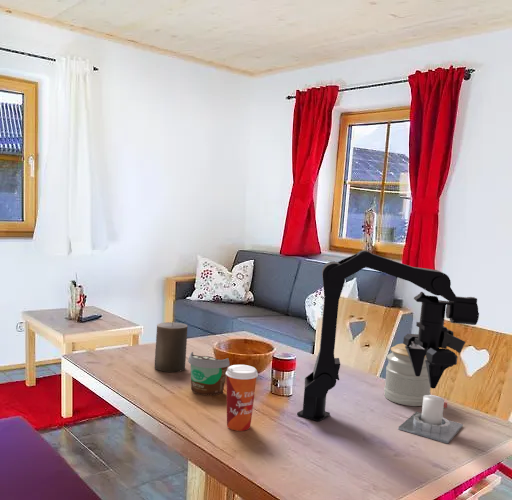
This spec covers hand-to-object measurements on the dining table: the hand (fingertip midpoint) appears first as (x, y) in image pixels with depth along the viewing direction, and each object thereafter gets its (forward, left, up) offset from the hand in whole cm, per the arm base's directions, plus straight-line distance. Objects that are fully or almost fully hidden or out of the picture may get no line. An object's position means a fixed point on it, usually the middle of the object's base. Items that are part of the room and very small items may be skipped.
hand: (425, 381), depth 135 cm
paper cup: (-32, +34, -12) cm, 48 cm away
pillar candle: (-10, +77, -12) cm, 78 cm away
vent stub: (+1, -2, -11) cm, 11 cm away
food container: (-20, +55, -12) cm, 59 cm away
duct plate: (+1, -2, -12) cm, 12 cm away
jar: (+18, +10, -12) cm, 24 cm away
